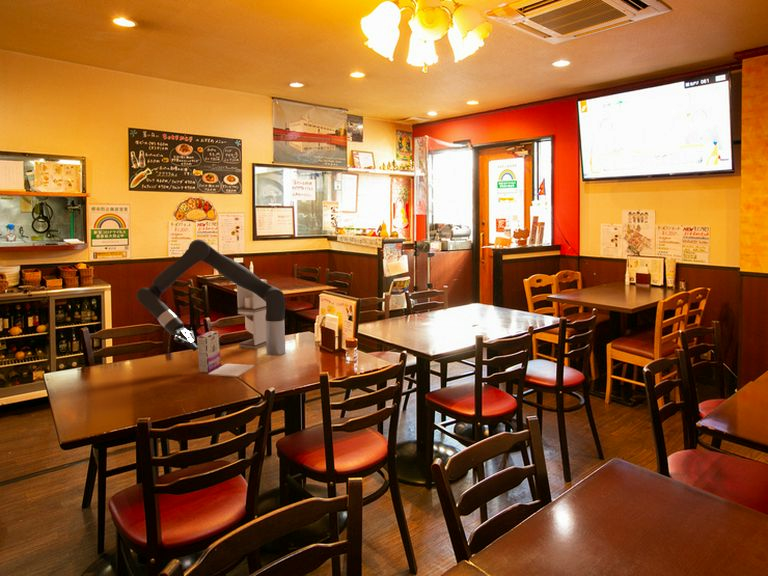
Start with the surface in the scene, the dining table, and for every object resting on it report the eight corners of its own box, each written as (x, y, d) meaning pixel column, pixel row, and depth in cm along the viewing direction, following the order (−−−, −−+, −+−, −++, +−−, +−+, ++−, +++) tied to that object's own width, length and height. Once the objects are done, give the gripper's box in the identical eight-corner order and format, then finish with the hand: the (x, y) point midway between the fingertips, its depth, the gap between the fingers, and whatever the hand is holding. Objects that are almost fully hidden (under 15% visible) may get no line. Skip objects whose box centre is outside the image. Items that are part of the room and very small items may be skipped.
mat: (226, 364, 248) (226, 363, 248) (254, 366, 245) (254, 365, 245) (208, 374, 233) (208, 373, 232) (237, 376, 230) (237, 375, 229)
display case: (252, 342, 292) (250, 278, 287) (268, 343, 288) (266, 279, 283) (239, 346, 281) (236, 281, 277) (255, 348, 277) (253, 282, 272)
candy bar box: (211, 365, 247) (209, 330, 245) (220, 366, 246) (219, 331, 244) (198, 372, 236) (196, 336, 234) (208, 373, 235) (206, 336, 233)
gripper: (166, 319, 235) (193, 347, 234) (184, 313, 248) (209, 340, 247) (156, 330, 237) (182, 358, 236) (174, 324, 250) (199, 351, 249)
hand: (196, 349), depth 241 cm, fingers closed
